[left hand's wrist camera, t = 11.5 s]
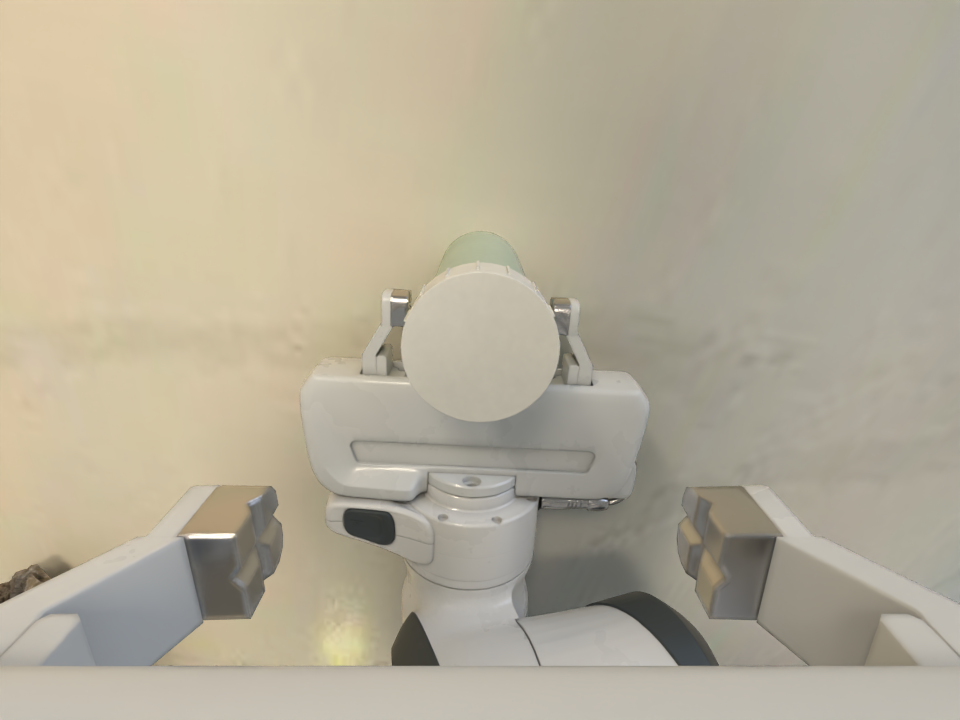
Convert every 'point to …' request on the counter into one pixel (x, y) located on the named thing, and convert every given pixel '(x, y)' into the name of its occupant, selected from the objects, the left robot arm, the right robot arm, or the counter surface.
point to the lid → (480, 343)
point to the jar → (480, 252)
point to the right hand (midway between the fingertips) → (481, 295)
